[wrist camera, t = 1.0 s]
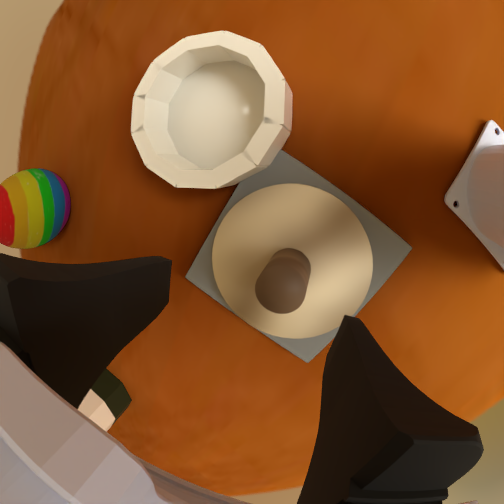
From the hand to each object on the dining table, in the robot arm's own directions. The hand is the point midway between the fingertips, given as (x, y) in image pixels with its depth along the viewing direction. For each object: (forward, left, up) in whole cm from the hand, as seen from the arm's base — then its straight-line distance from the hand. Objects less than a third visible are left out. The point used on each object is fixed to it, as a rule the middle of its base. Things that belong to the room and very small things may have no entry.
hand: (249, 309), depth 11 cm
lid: (-1, +1, -9) cm, 9 cm away
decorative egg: (+23, +11, -10) cm, 27 cm away
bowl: (+9, -5, -10) cm, 14 cm away
